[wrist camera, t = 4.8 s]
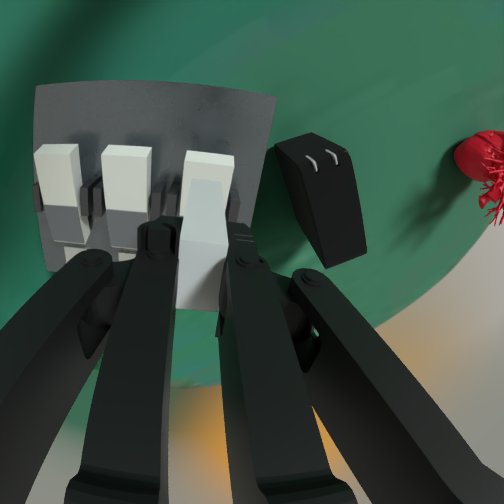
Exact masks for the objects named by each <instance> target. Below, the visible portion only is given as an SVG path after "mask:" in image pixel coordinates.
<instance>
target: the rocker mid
mask: <svg viewBox="0 0 504 504" xmlns="http://www.w3.org/2000/svg"><path fill="white" fill-rule="evenodd" d="M151 155H152V147H142V146H125V145H108V146H107V147H106V149H105V150H104V151H103V153H102V154H101V161H102V175H103V186H104V196H105V205H106V217H107V224H108V231H109V238H110V244H111V247H117V248H127V249H136V250H137V228H138V227H139V226H140V224H143V223H145V222H148V221H151Z"/></svg>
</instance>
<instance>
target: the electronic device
mask: <svg viewBox="0 0 504 504" xmlns="http://www.w3.org/2000/svg"><path fill="white" fill-rule="evenodd" d="M274 146H275V152H276V155H277V158H278V161H279V164H280V167H281V170H282V173H283V176H284V179H285V182H286V185H287V189H288V192H289V195H290V198H291V201H292V205H293V208H294V211H295V214H296V218H297V221H298V223H299V225H300V227H301V229H302V230H303V232H304V234H305V235H306V237H307V239H308V240H309V242H310V244H311V245H312V247H313V249H314V251H315V252H316V254H317V256H318V257H319V259H320V261H321V263H322V264H323V266H324V267H325V269H328V268H330V267H333V266H336V265H338V264H341V263H343V262H346V261H349V260H351V259H354V258H356V257H359V256H361V255H364V254H366V253H367V246H366V239H365V232H364V225H363V219H362V213H361V207H360V201H359V195H358V190H357V185H356V180H355V175H354V170H353V165H352V161H351V158H350V155H349V154H348V152H347V150H346V149H345V148H343V147H341V146H339V145H337V144H335V143H333V142H331V141H329V140H327V139H325V138H323V137H320V136H318V135H316V134H314V133H312V132H311V133H308V134H304V135H301V136H298V137H295V138H292V139H289V140H286V141H283V142H280V143H277V144H274Z"/></svg>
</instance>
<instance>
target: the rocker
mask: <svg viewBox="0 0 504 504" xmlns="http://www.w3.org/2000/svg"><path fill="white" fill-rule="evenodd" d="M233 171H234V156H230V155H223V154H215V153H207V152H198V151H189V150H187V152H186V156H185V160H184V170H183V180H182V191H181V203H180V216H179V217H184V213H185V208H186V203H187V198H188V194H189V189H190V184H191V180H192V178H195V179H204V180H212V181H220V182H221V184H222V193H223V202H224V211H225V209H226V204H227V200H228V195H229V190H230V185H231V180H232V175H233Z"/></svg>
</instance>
